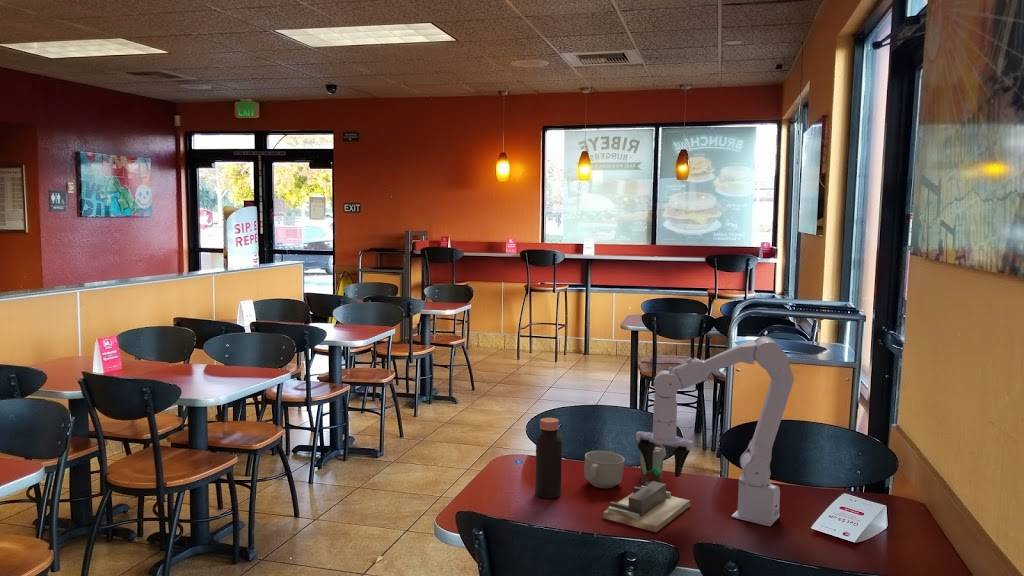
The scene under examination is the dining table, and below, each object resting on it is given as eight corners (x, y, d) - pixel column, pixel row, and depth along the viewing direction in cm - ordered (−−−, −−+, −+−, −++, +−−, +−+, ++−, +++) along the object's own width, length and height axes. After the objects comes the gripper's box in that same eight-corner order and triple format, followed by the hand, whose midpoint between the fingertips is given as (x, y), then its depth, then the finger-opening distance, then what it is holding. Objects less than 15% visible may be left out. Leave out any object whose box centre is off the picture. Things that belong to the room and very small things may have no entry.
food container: (669, 489, 206) (670, 453, 205) (646, 489, 206) (647, 453, 205) (661, 474, 218) (662, 439, 217) (639, 473, 218) (640, 439, 217)
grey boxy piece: (665, 499, 195) (666, 484, 194) (641, 516, 183) (642, 500, 183) (635, 492, 200) (635, 477, 199) (609, 508, 188) (610, 492, 188)
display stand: (689, 506, 194) (690, 495, 194) (656, 532, 178) (656, 521, 178) (639, 493, 202) (639, 484, 202) (602, 517, 186) (603, 507, 186)
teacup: (598, 475, 217) (598, 447, 216) (631, 484, 210) (632, 455, 209) (569, 488, 206) (570, 459, 205) (603, 498, 199) (604, 468, 198)
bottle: (565, 497, 199) (566, 422, 197) (541, 500, 197) (542, 424, 195) (554, 488, 205) (555, 415, 203) (531, 491, 203) (532, 417, 201)
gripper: (631, 418, 191) (629, 471, 192) (686, 428, 183) (684, 483, 184) (643, 412, 197) (642, 464, 198) (697, 421, 188) (695, 475, 190)
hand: (663, 472), depth 191 cm, fingers open, 7 cm apart
